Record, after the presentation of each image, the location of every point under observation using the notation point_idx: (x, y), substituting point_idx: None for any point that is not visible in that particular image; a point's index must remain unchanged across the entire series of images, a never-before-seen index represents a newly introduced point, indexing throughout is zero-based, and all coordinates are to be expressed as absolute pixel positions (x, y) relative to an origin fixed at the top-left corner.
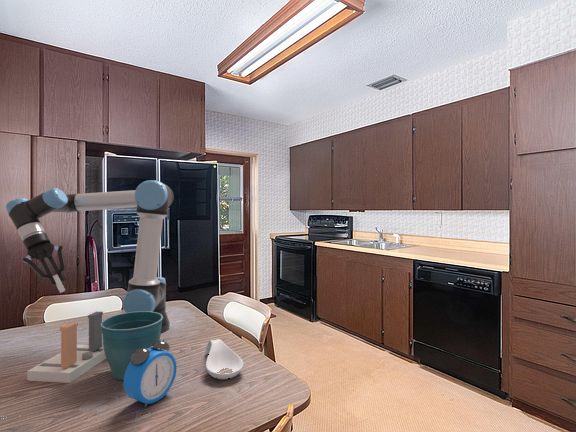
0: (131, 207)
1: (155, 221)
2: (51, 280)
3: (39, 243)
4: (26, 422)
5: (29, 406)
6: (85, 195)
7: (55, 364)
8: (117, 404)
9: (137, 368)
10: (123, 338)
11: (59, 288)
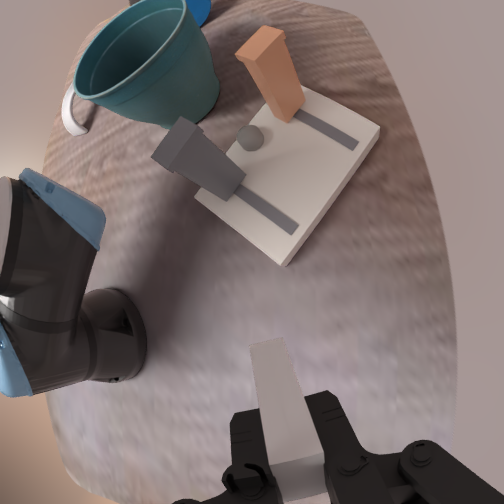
0: None
1: None
2: (340, 426)
3: None
4: (334, 15)
5: (343, 44)
6: None
7: (321, 127)
8: (226, 22)
9: None
10: (168, 7)
11: (285, 351)
